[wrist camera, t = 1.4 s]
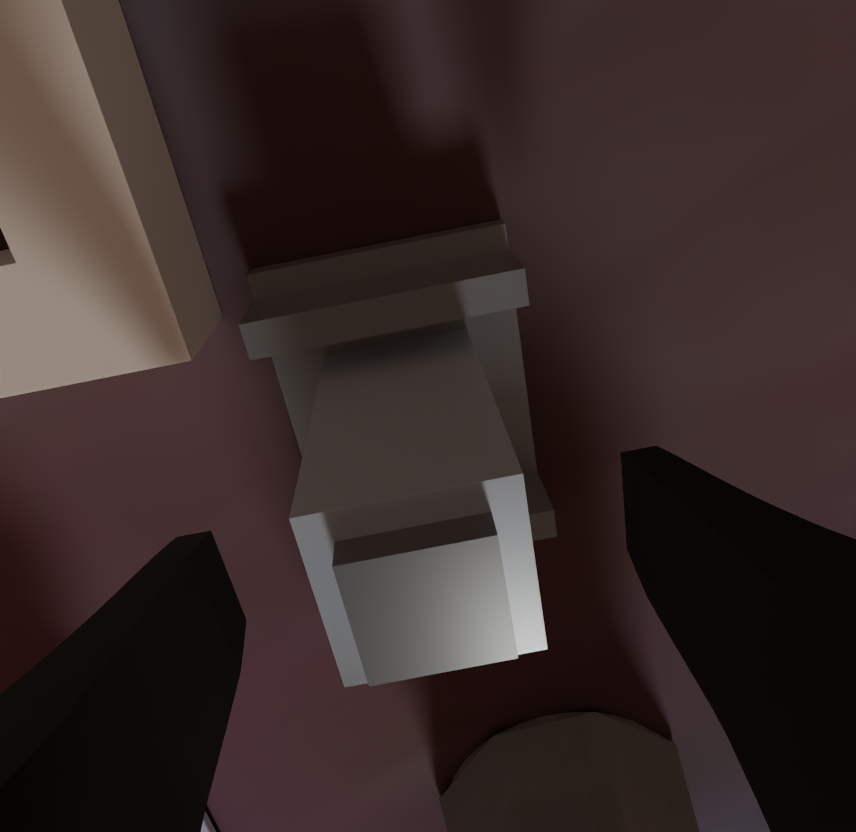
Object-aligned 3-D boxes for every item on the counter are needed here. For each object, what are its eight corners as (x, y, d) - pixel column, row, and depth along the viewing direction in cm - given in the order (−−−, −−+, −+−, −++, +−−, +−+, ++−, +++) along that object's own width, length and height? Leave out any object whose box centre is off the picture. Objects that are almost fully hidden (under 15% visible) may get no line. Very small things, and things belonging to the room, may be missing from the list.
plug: (487, 452, 18) (556, 676, 11) (357, 477, 18) (343, 716, 11) (466, 327, 16) (531, 495, 9) (324, 355, 16) (284, 543, 9)
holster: (538, 501, 19) (559, 555, 17) (332, 541, 19) (326, 599, 17) (500, 218, 16) (521, 238, 13) (250, 269, 16) (229, 296, 13)
